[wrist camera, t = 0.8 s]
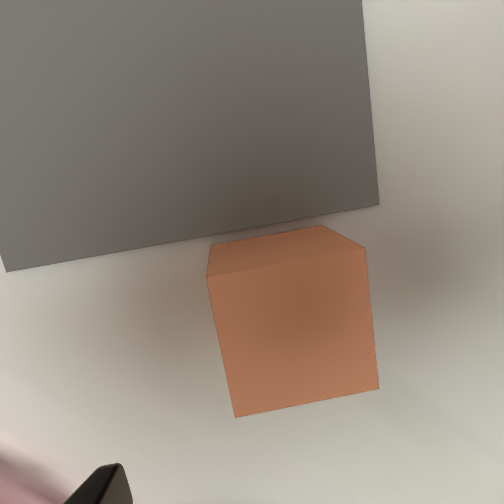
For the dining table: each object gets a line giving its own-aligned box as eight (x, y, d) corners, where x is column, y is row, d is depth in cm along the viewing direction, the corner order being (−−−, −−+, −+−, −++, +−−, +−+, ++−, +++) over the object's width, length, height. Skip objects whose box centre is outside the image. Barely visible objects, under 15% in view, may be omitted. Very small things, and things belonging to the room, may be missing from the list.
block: (322, 224, 16) (365, 248, 11) (334, 327, 17) (379, 389, 12) (211, 245, 16) (206, 277, 11) (231, 347, 17) (235, 417, 12)
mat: (347, -122, 13) (350, -128, 13) (376, 204, 16) (379, 204, 16) (-101, -57, 12) (-109, -63, 12) (10, 270, 15) (6, 272, 15)
